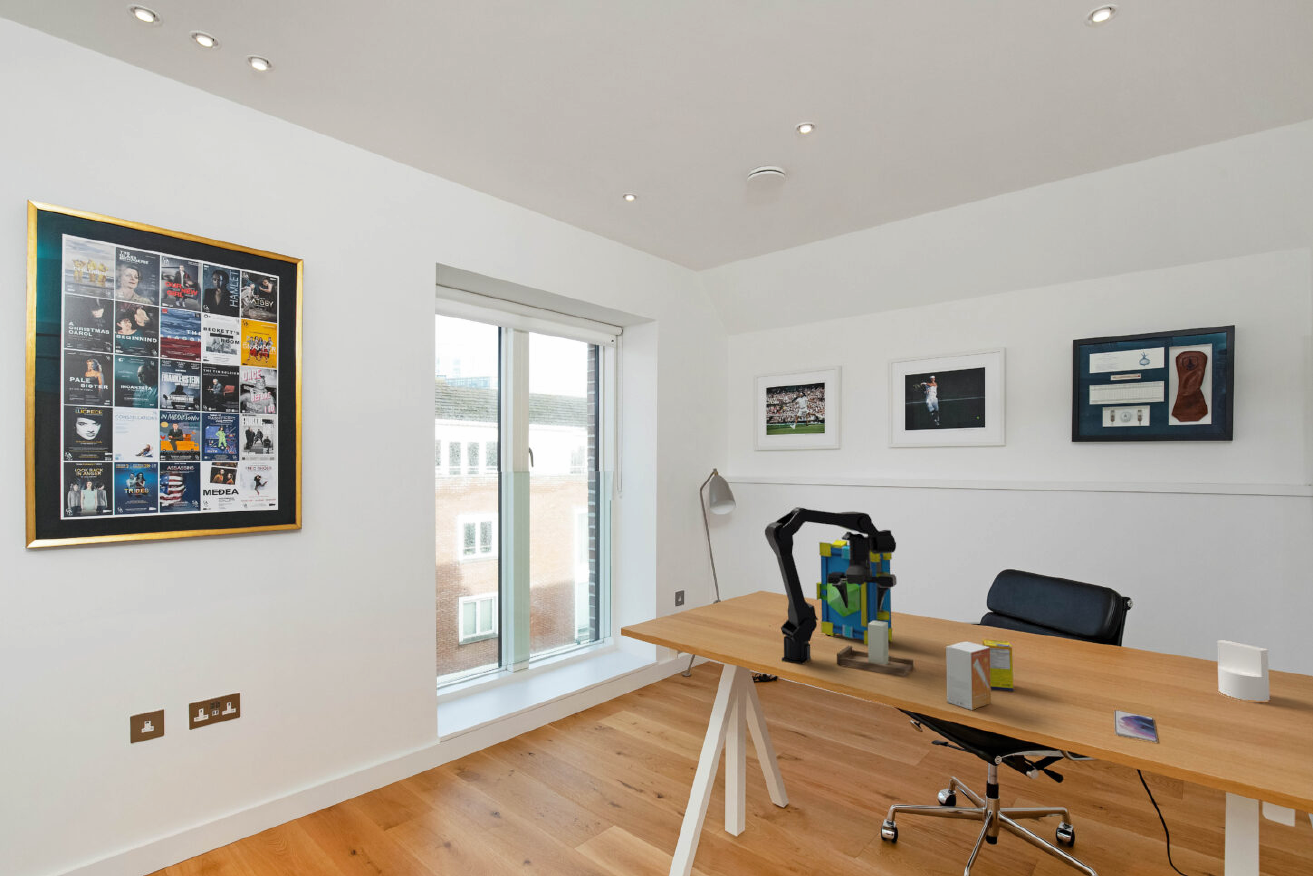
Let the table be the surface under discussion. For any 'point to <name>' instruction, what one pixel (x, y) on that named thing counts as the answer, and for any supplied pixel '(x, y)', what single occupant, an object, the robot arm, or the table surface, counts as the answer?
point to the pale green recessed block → (878, 642)
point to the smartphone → (1134, 726)
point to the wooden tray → (861, 662)
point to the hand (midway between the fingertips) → (862, 609)
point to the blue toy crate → (851, 595)
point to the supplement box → (1000, 664)
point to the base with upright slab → (1243, 671)
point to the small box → (968, 675)
